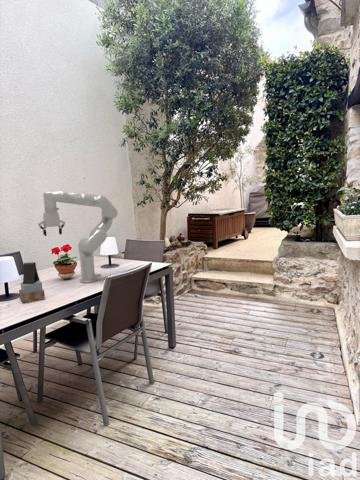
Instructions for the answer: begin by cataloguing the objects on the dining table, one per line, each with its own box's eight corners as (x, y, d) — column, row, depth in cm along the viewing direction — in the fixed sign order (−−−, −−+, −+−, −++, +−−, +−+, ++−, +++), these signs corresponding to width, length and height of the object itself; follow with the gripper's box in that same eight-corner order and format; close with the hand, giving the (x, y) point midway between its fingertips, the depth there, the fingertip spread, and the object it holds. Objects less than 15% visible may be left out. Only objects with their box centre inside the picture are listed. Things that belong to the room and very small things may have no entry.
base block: (40, 295, 193) (39, 286, 192) (44, 299, 183) (44, 290, 182) (20, 299, 186) (19, 289, 185) (23, 304, 176) (22, 294, 175)
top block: (38, 286, 191) (38, 279, 190) (42, 290, 183) (41, 282, 182) (21, 289, 185) (20, 282, 184) (24, 293, 177) (23, 285, 176)
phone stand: (29, 280, 188) (27, 261, 186) (39, 279, 188) (37, 261, 186) (22, 284, 179) (20, 264, 177) (32, 283, 179) (31, 264, 177)
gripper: (62, 209, 211) (64, 233, 213) (35, 210, 201) (38, 235, 203) (65, 209, 205) (67, 234, 207) (38, 210, 195) (40, 236, 197)
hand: (53, 235), depth 205 cm, fingers open, 9 cm apart
